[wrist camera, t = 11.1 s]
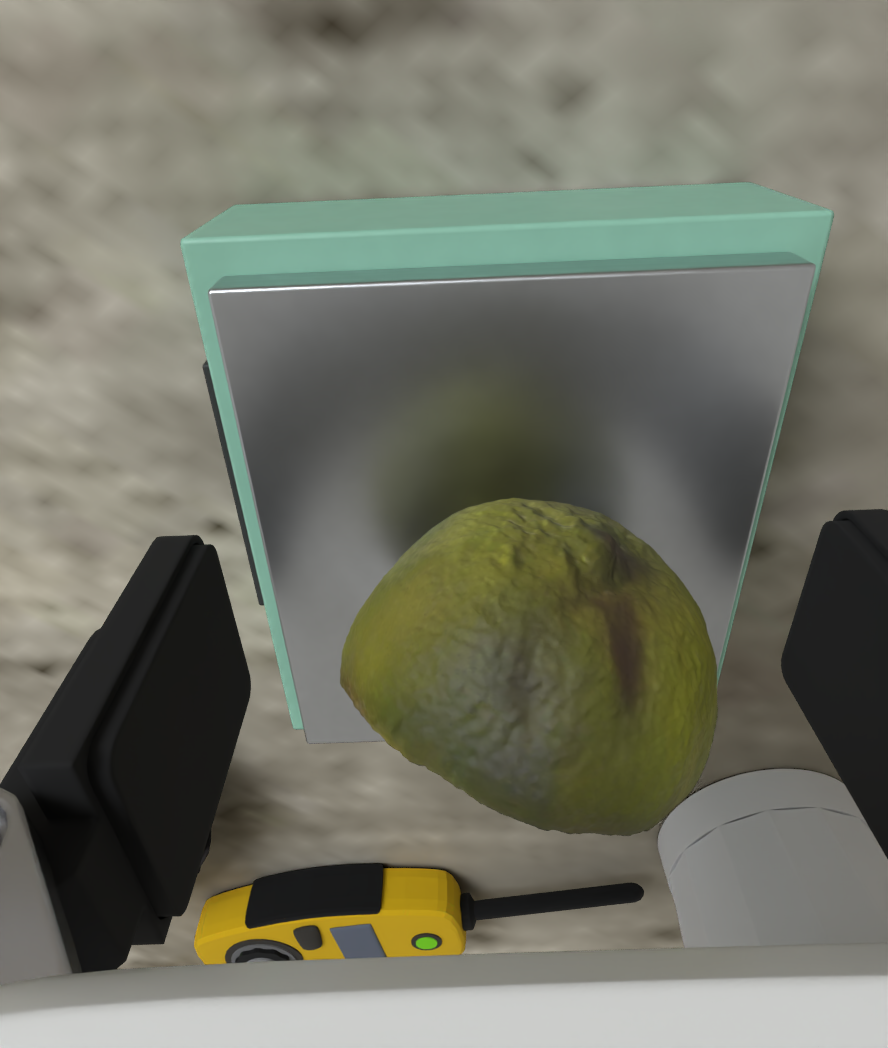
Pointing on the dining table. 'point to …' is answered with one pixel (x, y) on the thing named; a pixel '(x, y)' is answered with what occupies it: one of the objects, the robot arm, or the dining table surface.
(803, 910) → the cup
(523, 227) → the scale
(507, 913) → the yellow walkie talkie
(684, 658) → the lime
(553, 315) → the scale pan
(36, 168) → the dining table surface
